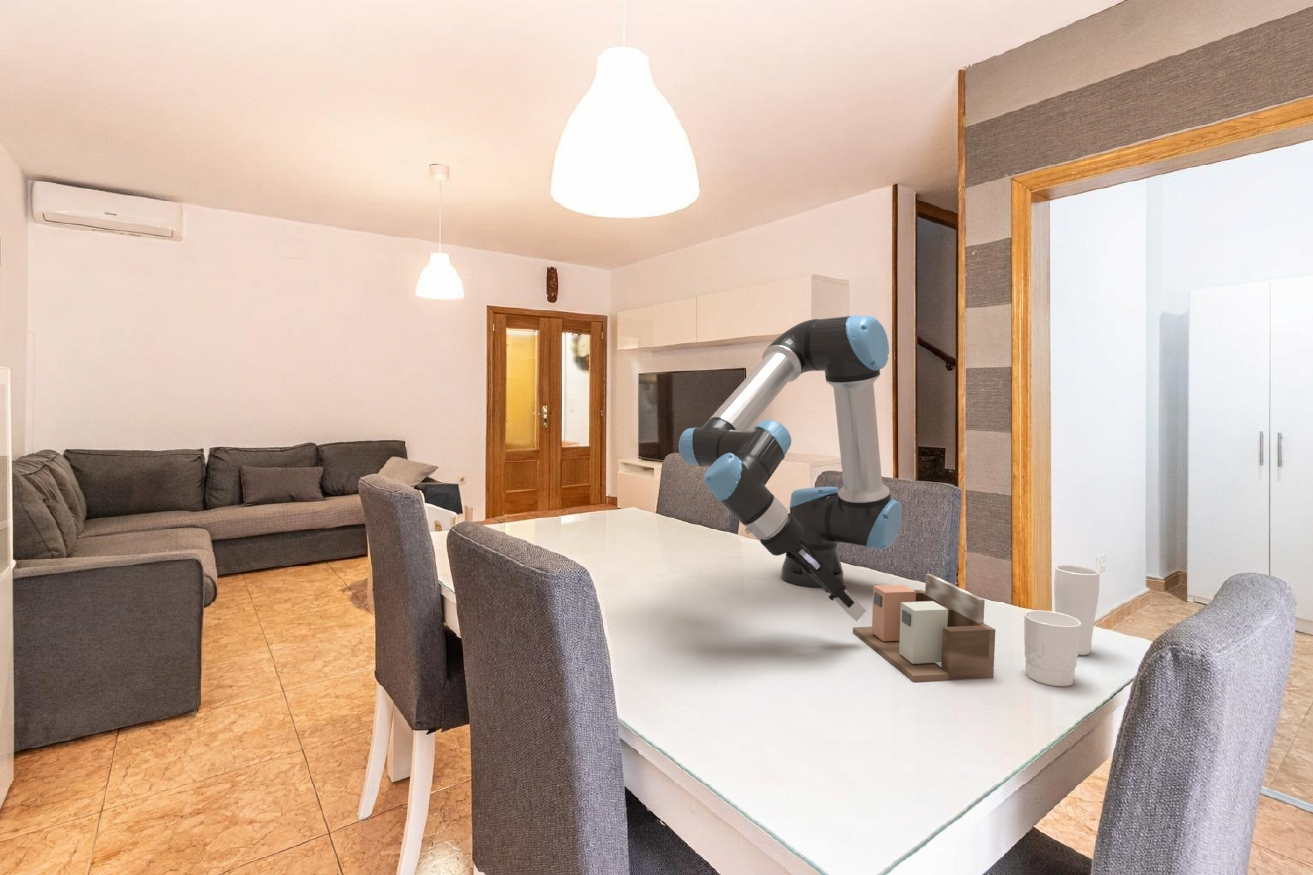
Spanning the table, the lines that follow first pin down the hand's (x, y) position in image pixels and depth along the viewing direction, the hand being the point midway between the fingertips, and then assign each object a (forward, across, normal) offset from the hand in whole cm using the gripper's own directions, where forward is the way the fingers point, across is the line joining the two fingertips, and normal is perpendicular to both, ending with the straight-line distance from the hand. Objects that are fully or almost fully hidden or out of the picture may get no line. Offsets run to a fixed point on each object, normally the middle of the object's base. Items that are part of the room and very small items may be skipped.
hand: (859, 614), depth 118 cm
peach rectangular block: (+8, 0, +2) cm, 8 cm away
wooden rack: (+10, +5, +2) cm, 11 cm away
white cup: (+22, +17, +14) cm, 31 cm away
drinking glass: (+31, +7, +23) cm, 39 cm away
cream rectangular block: (+8, +10, +2) cm, 13 cm away
